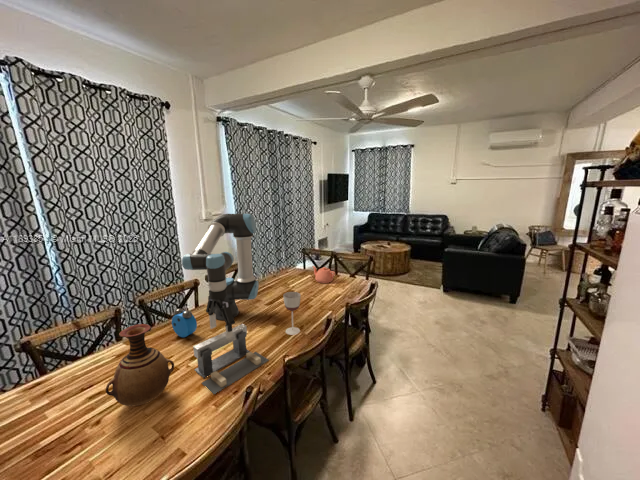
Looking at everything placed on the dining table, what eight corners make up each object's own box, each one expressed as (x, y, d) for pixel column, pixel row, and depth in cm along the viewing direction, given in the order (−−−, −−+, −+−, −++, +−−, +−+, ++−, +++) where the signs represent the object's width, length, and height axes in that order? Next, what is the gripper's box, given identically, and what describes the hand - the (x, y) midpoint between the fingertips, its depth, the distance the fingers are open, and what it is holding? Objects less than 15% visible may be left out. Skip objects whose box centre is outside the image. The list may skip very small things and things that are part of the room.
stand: (194, 370, 123) (192, 348, 120) (240, 346, 141) (239, 326, 139) (203, 378, 118) (201, 355, 115) (249, 352, 136) (248, 331, 134)
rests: (211, 378, 117) (210, 373, 117) (250, 356, 133) (250, 351, 132) (221, 387, 112) (220, 382, 112) (261, 362, 128) (260, 357, 127)
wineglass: (298, 336, 151) (298, 298, 146) (282, 334, 153) (281, 297, 148) (302, 327, 159) (302, 292, 155) (287, 326, 161) (286, 291, 156)
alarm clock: (198, 334, 152) (195, 310, 149) (189, 340, 146) (186, 314, 143) (181, 329, 157) (179, 305, 154) (172, 335, 152) (169, 310, 149)
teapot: (308, 281, 234) (307, 267, 231) (316, 276, 246) (316, 263, 244) (330, 286, 223) (331, 271, 220) (338, 280, 236) (339, 266, 233)
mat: (201, 383, 115) (201, 382, 115) (255, 352, 136) (255, 351, 136) (214, 395, 109) (214, 394, 109) (268, 360, 130) (268, 359, 130)
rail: (198, 358, 117) (197, 349, 116) (194, 355, 119) (193, 346, 118) (247, 334, 136) (246, 326, 135) (242, 331, 138) (242, 323, 137)
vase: (105, 427, 94) (90, 350, 88) (119, 391, 111) (107, 323, 104) (174, 407, 103) (165, 335, 97) (178, 376, 119) (170, 313, 113)
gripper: (195, 284, 127) (199, 326, 131) (225, 298, 111) (229, 345, 115) (211, 280, 132) (214, 320, 137) (241, 293, 117) (244, 338, 121)
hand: (221, 332), depth 126 cm, fingers open, 13 cm apart
